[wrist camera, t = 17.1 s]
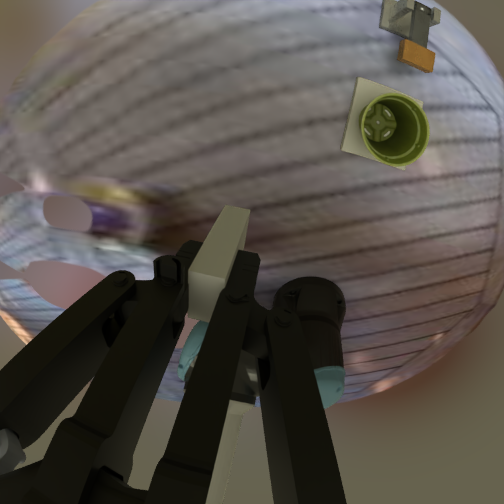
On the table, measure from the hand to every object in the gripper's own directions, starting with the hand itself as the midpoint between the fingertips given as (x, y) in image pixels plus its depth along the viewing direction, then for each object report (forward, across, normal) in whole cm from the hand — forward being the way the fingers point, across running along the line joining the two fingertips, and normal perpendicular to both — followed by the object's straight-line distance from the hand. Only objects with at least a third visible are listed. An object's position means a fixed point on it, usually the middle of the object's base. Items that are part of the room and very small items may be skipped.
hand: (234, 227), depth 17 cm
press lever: (+21, -16, -23) cm, 35 cm away
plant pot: (+27, -15, -8) cm, 32 cm away
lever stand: (+28, -16, -27) cm, 42 cm away
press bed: (+28, -16, -8) cm, 34 cm away
